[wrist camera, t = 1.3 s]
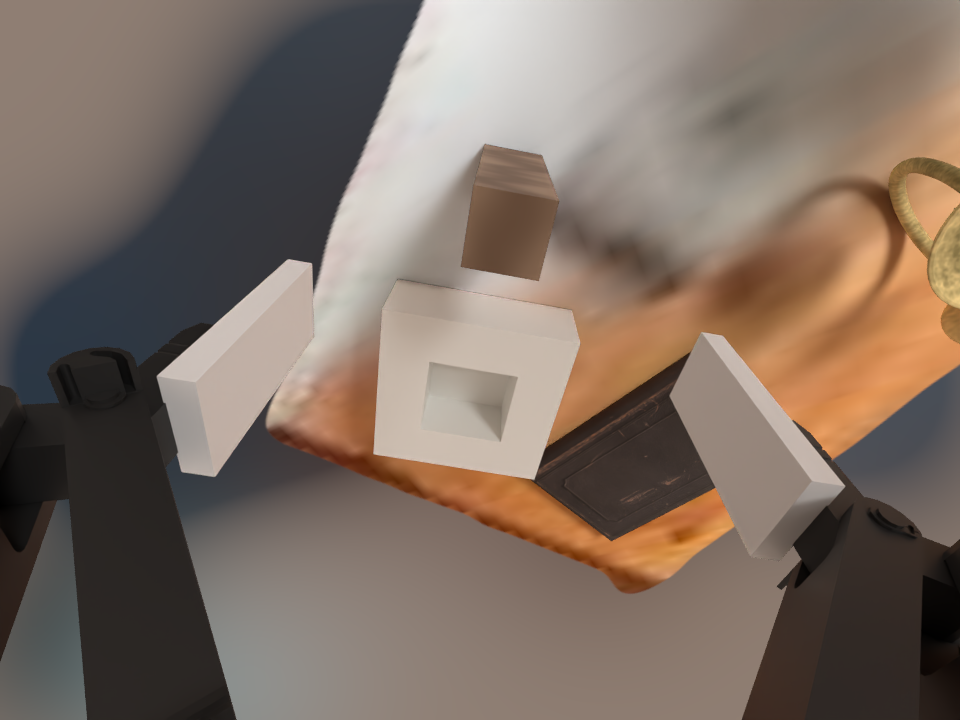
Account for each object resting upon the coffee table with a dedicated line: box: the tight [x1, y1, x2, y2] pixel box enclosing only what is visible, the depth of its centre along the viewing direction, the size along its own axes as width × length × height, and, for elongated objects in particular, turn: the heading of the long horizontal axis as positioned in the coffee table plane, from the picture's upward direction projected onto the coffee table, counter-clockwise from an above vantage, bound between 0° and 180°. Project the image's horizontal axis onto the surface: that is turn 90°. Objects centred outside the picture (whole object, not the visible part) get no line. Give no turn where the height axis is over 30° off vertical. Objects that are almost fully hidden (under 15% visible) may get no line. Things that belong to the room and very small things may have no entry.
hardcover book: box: [530, 352, 716, 541], centre depth 50 cm, size 16×23×2 cm
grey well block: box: [373, 279, 580, 480], centre depth 43 cm, size 16×16×6 cm
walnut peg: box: [461, 144, 559, 281], centre depth 30 cm, size 4×4×14 cm
